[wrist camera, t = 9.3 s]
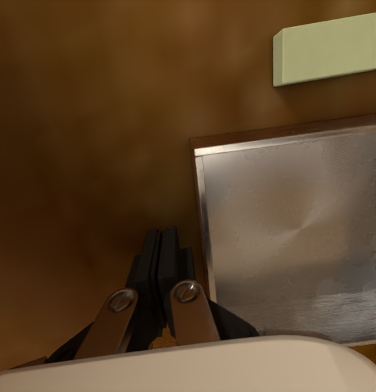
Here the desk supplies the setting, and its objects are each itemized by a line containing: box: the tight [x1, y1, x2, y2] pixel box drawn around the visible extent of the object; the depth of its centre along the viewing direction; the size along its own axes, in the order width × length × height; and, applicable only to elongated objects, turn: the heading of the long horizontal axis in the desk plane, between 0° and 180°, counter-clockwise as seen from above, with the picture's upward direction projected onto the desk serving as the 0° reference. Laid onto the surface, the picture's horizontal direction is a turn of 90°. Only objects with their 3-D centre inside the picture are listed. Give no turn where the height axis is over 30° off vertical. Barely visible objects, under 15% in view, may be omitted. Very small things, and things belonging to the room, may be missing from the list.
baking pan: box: [189, 114, 376, 347], centre depth 11 cm, size 12×12×4 cm
